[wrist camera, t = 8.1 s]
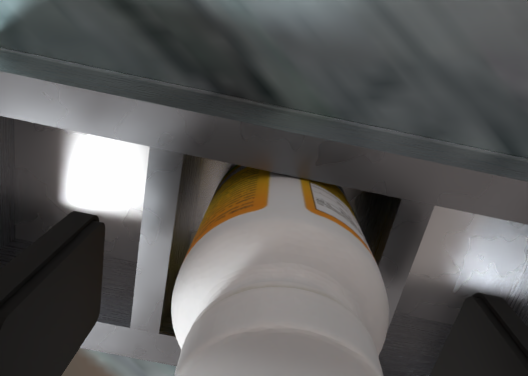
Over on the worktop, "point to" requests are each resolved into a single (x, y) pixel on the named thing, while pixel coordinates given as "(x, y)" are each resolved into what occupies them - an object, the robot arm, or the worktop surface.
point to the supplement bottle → (279, 284)
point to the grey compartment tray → (259, 157)
